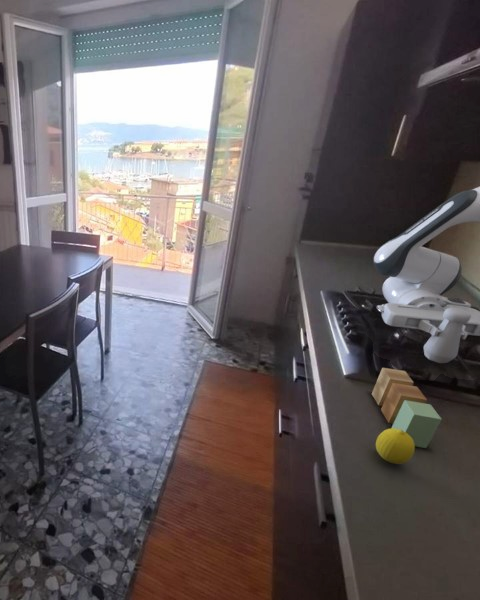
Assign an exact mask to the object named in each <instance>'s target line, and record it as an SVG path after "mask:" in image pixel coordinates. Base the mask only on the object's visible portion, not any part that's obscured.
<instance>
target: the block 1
mask: <svg viewBox="0 0 480 600" xmlns="http://www.w3.org/2000/svg"><path fill="white" fill-rule="evenodd" d="M393 383H397V384H403V385H409V386H414V383H415V381H413V379H412V378H411V376H410V375H409V374H408V373H407V371H406V370H402V369H401V370H400V369H395V368H394V369H393V368H388V367H381V370H380V373H379V375H378V378H377V379H376V382H375V385H374V386H373V389H372V391H371V392H372V393H371V395H372V397H373V398H374V400H375V402H376V404H377V405H378V406H380V407H382V406H383V404H384V402H385V399H386V397H387V395H388V393H389V390H390V388H391V386H392V384H393Z"/></svg>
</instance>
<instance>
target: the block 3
mask: <svg viewBox="0 0 480 600" xmlns="http://www.w3.org/2000/svg"><path fill="white" fill-rule="evenodd" d="M442 420H443V419H442V417H441V416H440V415H439V414H438V413H437V410H435V408H434V407H433V406H432V404H431V403H425V404H424V403H418V402H413V401H407V400H404V402H403V404H402V407H401V409H400V411H399V413H398V415H397V417H396V419H395V421H394V424H392V426H391V429H393V428H394V429H399V430H402V431H404V432H406V433H407V434H408V435H410V437H411V438H412V439H413V441H414V444H415V447H417V448H424V449H427V447H428V446H429V444H430V442H431V440H432V439H433V437H434V435H435V433H436V431H437V430H438V427H439V426H440V424H441V422H442Z"/></svg>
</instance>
